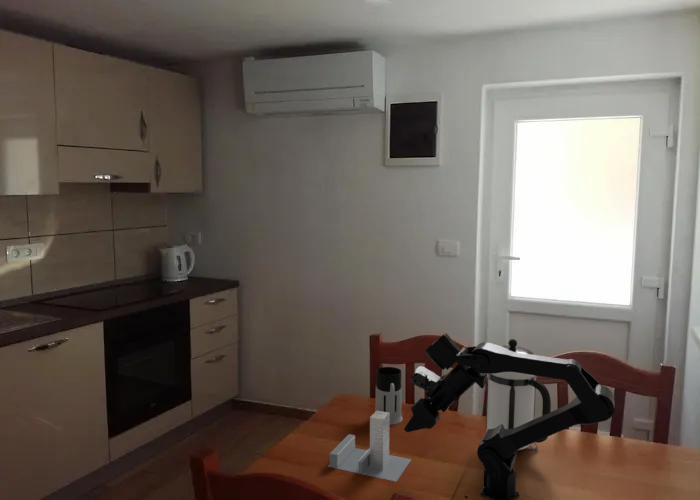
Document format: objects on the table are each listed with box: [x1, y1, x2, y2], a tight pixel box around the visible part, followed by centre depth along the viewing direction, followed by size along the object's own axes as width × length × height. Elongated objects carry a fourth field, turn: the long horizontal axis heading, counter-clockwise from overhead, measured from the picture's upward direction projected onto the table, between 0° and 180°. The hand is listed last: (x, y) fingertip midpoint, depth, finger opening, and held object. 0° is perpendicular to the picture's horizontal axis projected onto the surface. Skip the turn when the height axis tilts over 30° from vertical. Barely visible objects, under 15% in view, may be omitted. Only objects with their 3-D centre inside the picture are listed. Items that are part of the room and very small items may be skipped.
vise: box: [327, 433, 412, 483], centre depth 145 cm, size 18×12×4 cm, turn 67°
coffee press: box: [480, 338, 552, 451], centre depth 154 cm, size 17×16×30 cm
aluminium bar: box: [369, 411, 391, 470], centre depth 143 cm, size 4×4×13 cm
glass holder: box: [374, 366, 403, 426], centre depth 171 cm, size 9×14×15 cm, turn 4°
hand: (411, 423), depth 140 cm, fingers open, 9 cm apart
